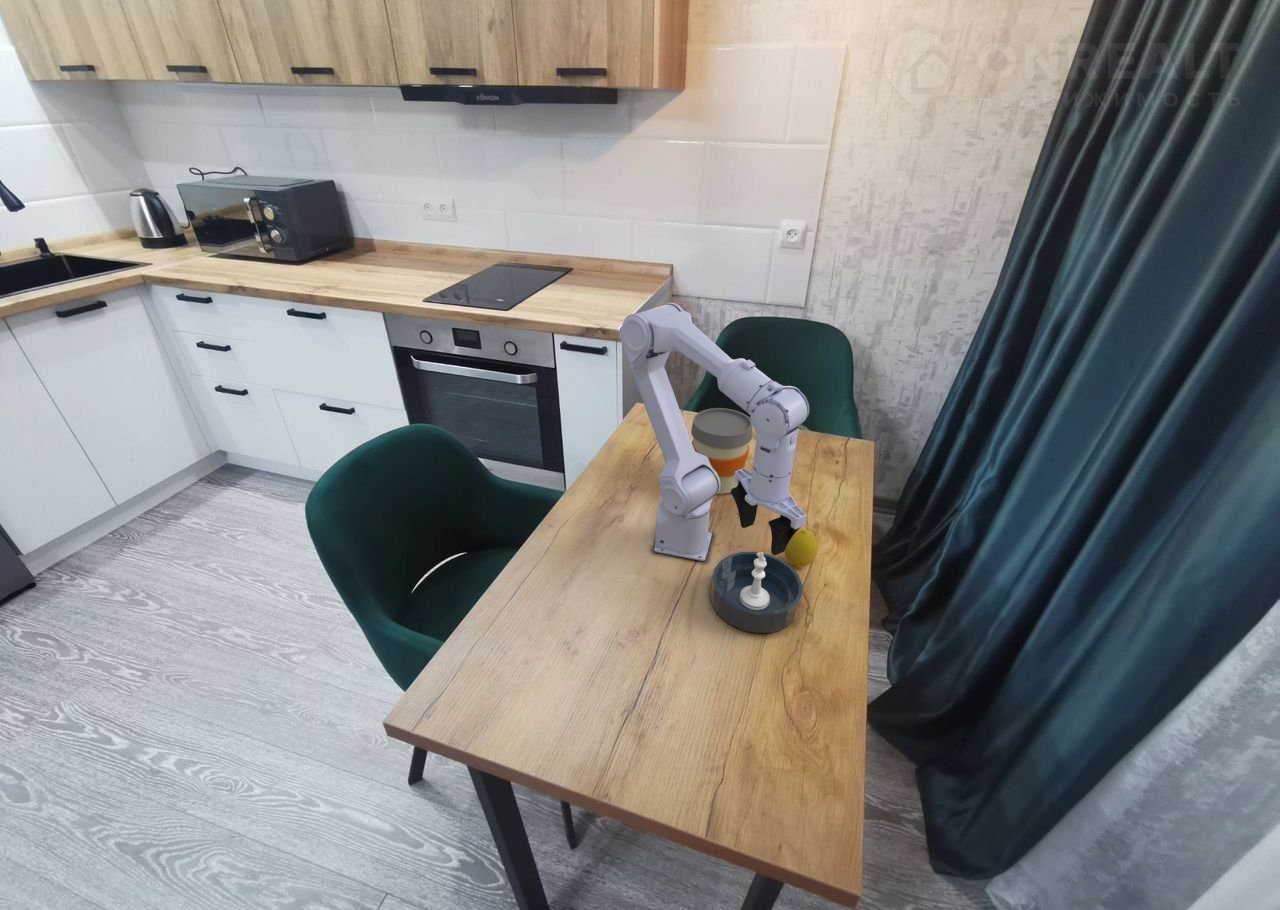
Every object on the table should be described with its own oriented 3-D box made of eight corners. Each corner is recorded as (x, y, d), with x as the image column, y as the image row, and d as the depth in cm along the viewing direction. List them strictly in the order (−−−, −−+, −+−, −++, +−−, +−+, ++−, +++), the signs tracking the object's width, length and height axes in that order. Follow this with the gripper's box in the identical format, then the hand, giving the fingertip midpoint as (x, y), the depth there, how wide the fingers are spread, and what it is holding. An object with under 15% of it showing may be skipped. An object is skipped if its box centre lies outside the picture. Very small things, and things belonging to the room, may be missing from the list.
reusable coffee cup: (754, 477, 125) (763, 417, 117) (731, 506, 115) (738, 442, 108) (704, 460, 130) (708, 402, 122) (677, 486, 121) (680, 425, 113)
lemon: (814, 578, 98) (822, 542, 94) (781, 573, 99) (788, 538, 95) (812, 556, 103) (820, 522, 98) (781, 552, 103) (787, 518, 99)
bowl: (703, 624, 89) (705, 603, 87) (718, 564, 101) (720, 544, 98) (796, 644, 86) (800, 623, 83) (799, 580, 97) (803, 560, 95)
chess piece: (751, 614, 90) (758, 567, 85) (733, 594, 94) (739, 548, 88) (775, 603, 92) (784, 557, 87) (757, 584, 96) (764, 538, 90)
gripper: (721, 452, 88) (715, 521, 95) (784, 500, 77) (772, 574, 84) (757, 441, 90) (748, 509, 98) (823, 486, 80) (808, 558, 87)
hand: (762, 538), depth 91 cm, fingers open, 7 cm apart
